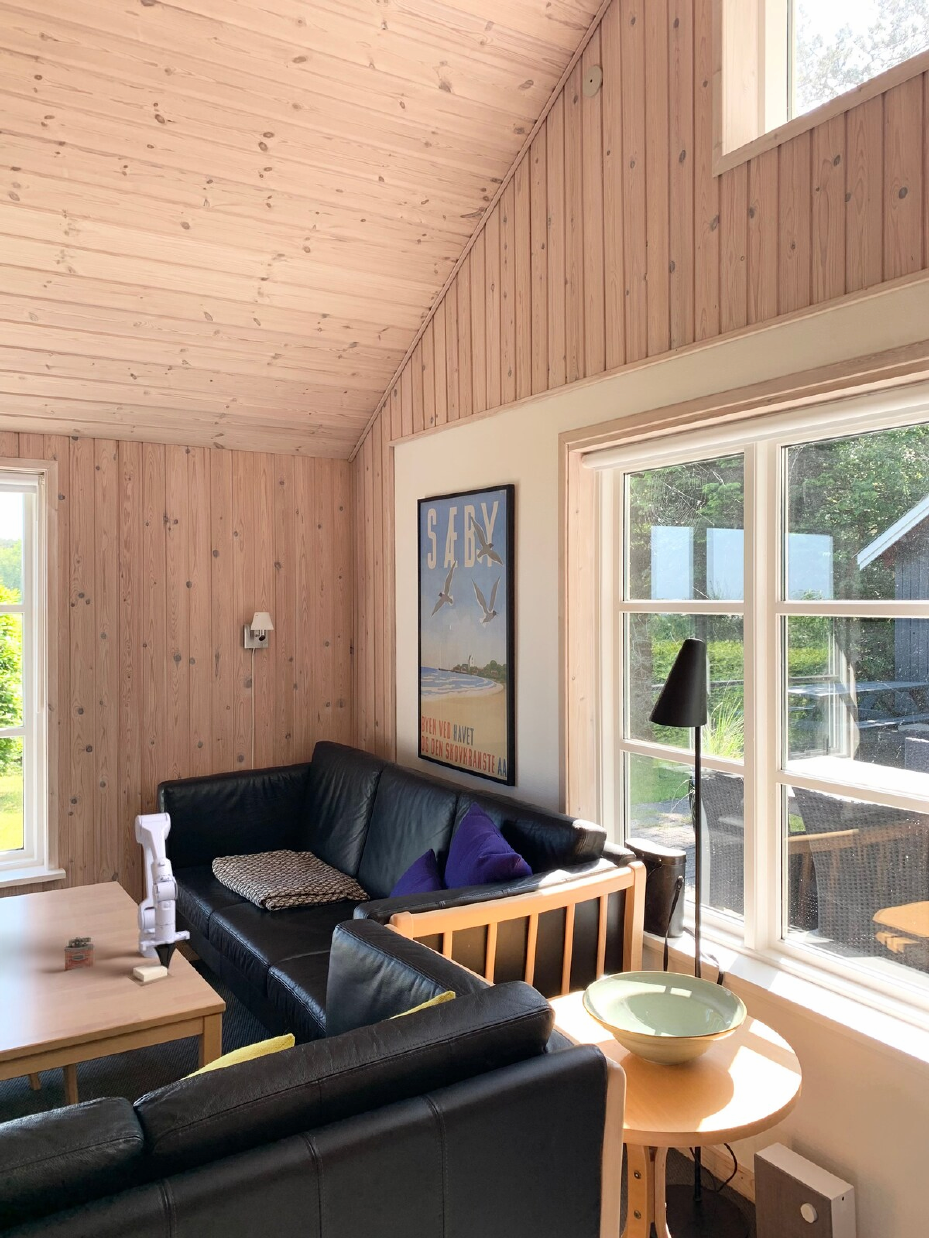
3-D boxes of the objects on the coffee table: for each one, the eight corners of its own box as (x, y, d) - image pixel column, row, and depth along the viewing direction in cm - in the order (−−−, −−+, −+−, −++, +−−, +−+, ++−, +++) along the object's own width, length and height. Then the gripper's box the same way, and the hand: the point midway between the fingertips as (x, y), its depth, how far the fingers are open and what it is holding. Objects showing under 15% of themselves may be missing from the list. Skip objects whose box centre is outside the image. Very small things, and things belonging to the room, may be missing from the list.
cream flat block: (133, 974, 269) (133, 967, 269) (156, 968, 274) (156, 961, 274) (143, 981, 264) (143, 974, 264) (167, 975, 269) (167, 968, 269)
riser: (123, 979, 270) (123, 974, 270) (156, 970, 277) (156, 965, 277) (141, 991, 261) (141, 986, 261) (174, 981, 268) (174, 976, 268)
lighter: (63, 974, 273) (63, 940, 273) (65, 970, 276) (65, 937, 276) (92, 971, 275) (92, 938, 275) (94, 967, 278) (94, 934, 278)
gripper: (147, 931, 264) (147, 979, 264) (194, 919, 274) (194, 965, 274) (136, 925, 269) (136, 972, 269) (183, 914, 279) (183, 959, 279)
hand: (165, 968), depth 272 cm, fingers closed
